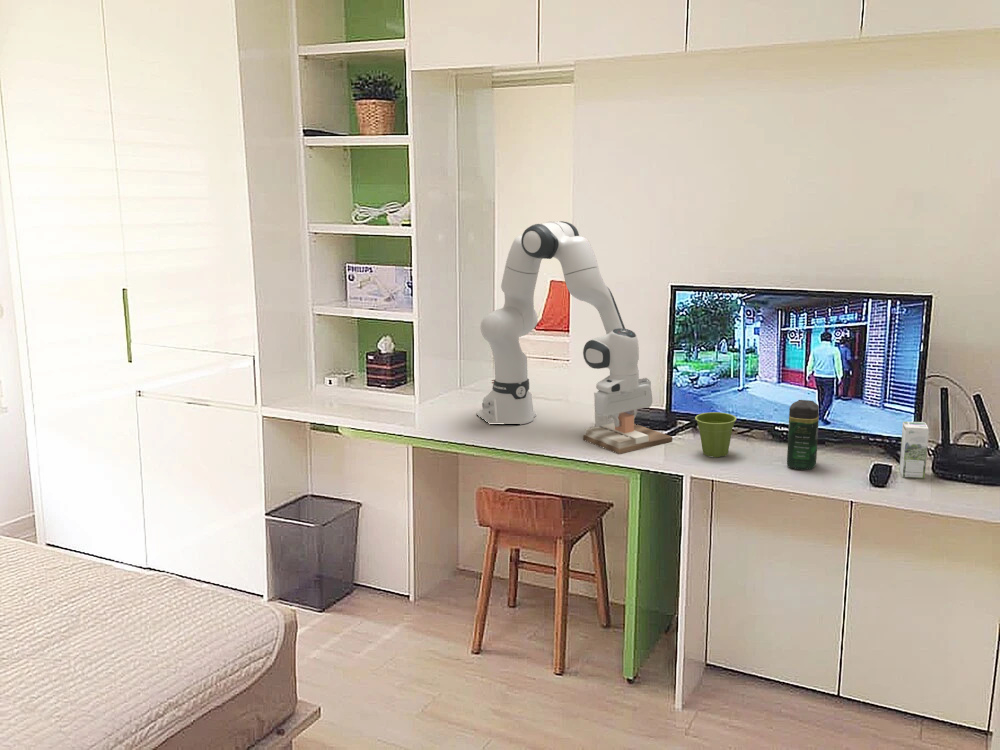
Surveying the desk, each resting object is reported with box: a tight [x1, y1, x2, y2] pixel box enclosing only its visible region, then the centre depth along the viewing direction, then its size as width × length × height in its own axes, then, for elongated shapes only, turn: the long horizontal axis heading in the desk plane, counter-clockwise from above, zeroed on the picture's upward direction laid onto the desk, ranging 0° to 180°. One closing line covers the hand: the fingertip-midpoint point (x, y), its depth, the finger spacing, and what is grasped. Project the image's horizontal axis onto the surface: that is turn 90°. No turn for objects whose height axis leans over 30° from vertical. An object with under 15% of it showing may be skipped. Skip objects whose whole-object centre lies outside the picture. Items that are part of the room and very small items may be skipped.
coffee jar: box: [786, 399, 820, 471], centre depth 263 cm, size 10×8×19 cm
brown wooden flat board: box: [582, 423, 673, 455], centre depth 293 cm, size 18×21×4 cm
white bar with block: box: [602, 412, 648, 444], centre depth 292 cm, size 17×5×7 cm, turn 31°
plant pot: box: [694, 411, 738, 458], centre depth 276 cm, size 12×12×11 cm
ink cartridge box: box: [593, 390, 614, 427], centre depth 310 cm, size 9×5×15 cm, turn 143°
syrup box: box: [899, 421, 930, 479], centre depth 253 cm, size 6×6×14 cm
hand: (624, 425), depth 292 cm, fingers closed on white bar with block, 3 cm apart
